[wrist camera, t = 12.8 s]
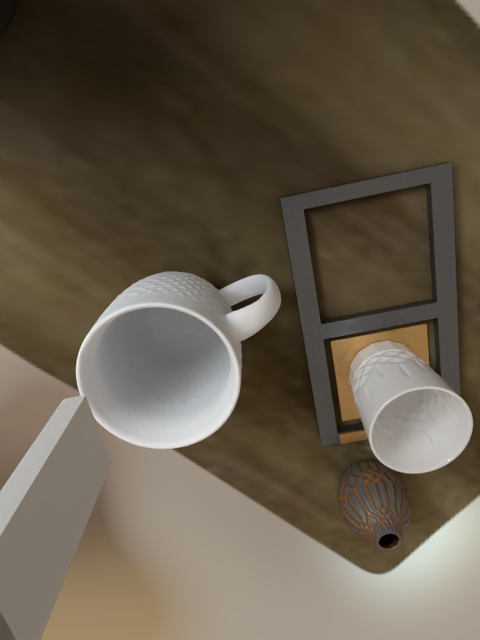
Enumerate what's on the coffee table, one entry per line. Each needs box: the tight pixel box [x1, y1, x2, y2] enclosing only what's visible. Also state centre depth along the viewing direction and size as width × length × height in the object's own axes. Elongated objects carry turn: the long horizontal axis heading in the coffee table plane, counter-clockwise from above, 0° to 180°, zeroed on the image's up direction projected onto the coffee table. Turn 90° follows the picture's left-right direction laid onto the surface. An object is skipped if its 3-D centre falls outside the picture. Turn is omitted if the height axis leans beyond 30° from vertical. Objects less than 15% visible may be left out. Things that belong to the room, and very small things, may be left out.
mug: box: [76, 271, 281, 449], centre depth 36 cm, size 15×11×13 cm
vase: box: [337, 460, 411, 552], centre depth 45 cm, size 7×7×9 cm
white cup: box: [348, 340, 473, 474], centre depth 40 cm, size 8×8×10 cm
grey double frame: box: [279, 162, 461, 447], centre depth 42 cm, size 25×14×1 cm, turn 12°
